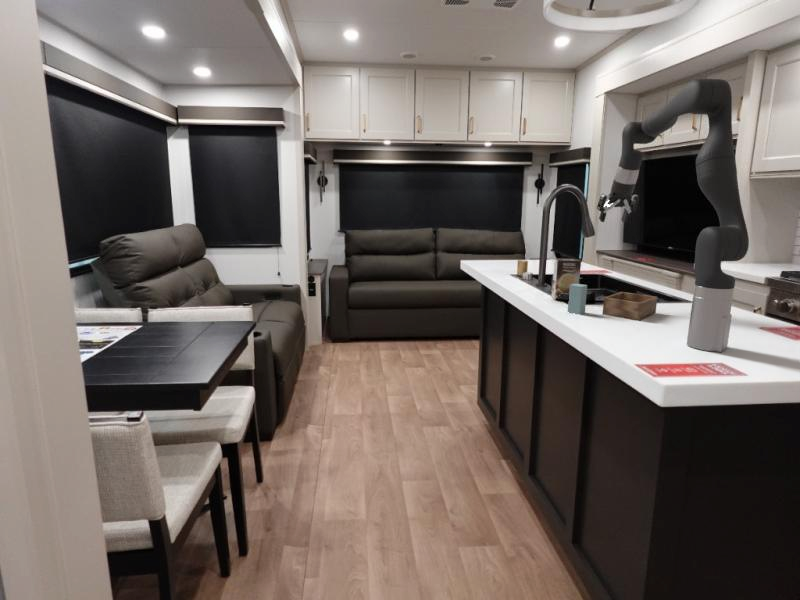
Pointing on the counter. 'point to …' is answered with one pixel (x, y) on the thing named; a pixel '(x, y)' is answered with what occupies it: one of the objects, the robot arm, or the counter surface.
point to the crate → (629, 306)
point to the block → (577, 298)
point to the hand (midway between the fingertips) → (612, 221)
